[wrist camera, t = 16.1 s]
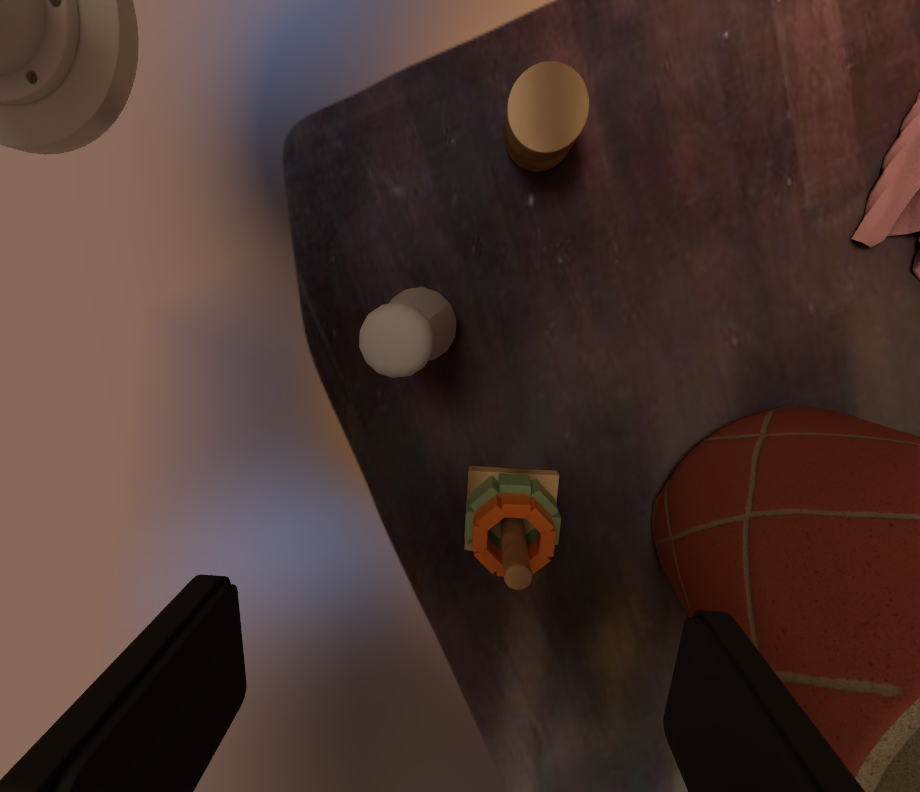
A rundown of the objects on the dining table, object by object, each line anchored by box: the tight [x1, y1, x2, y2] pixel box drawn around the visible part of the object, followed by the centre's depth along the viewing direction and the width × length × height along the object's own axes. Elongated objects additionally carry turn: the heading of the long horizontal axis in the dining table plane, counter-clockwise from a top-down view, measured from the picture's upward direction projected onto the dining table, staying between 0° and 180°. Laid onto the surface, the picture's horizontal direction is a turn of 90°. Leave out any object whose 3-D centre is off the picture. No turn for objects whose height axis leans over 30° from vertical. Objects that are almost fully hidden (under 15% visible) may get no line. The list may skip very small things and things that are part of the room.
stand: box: [504, 61, 589, 172], centre depth 30 cm, size 5×5×5 cm
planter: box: [652, 406, 920, 792], centre depth 28 cm, size 23×23×24 cm
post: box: [464, 466, 559, 590], centre depth 35 cm, size 8×8×10 cm
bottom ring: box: [465, 473, 561, 550], centre depth 38 cm, size 8×8×2 cm
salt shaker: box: [359, 287, 456, 378], centre depth 30 cm, size 6×6×13 cm
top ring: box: [472, 493, 556, 577], centre depth 36 cm, size 7×7×2 cm
